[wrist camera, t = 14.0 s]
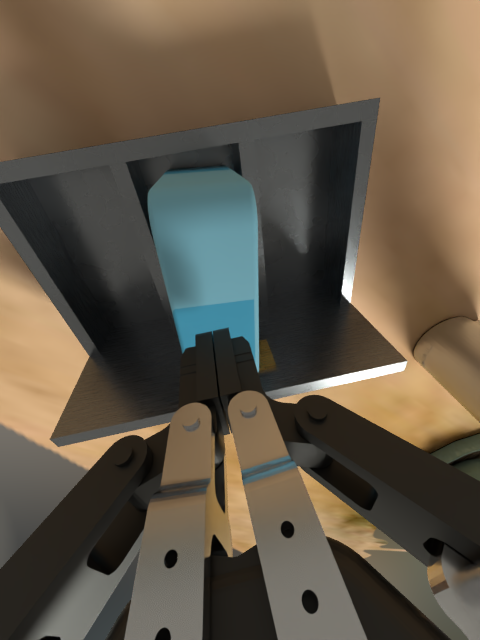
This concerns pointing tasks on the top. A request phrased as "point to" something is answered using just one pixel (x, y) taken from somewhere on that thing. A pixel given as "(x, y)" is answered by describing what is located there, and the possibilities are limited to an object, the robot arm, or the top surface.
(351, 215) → the rack
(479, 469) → the tea set
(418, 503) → the robot arm
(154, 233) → the blue flat rounded slab
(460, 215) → the top surface
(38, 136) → the top surface
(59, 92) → the top surface
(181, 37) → the top surface
